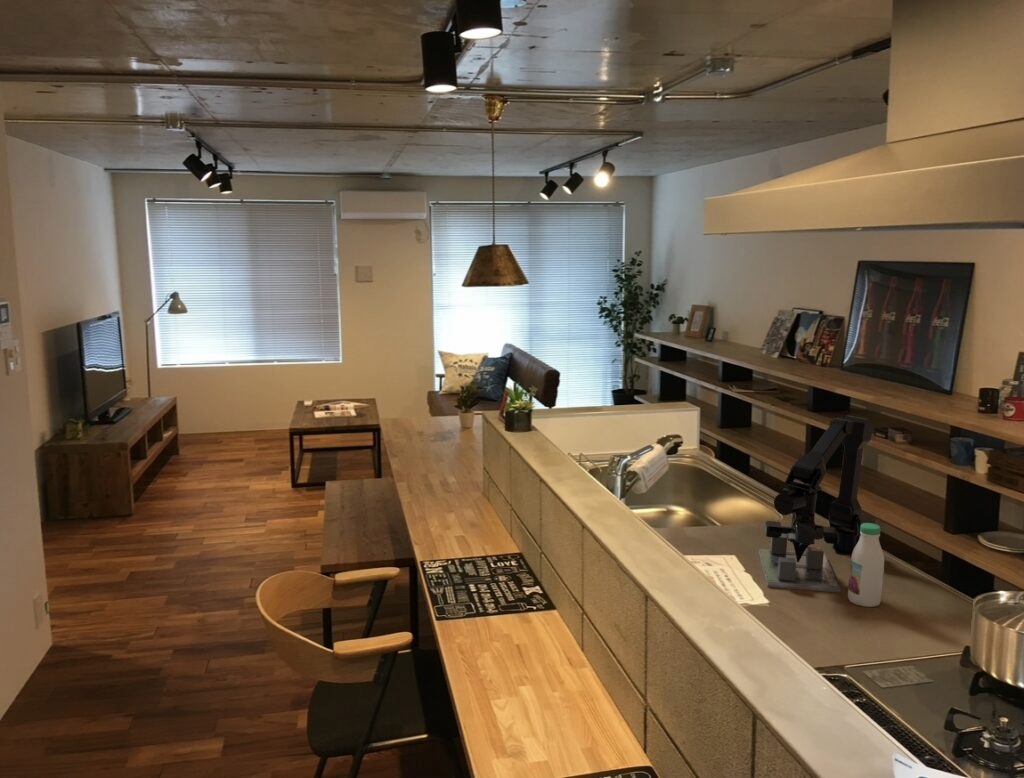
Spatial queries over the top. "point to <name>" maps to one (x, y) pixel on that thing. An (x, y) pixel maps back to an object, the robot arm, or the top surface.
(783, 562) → the block
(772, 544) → the block
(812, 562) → the breaker mid
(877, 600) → the milk bottle
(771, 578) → the panel
